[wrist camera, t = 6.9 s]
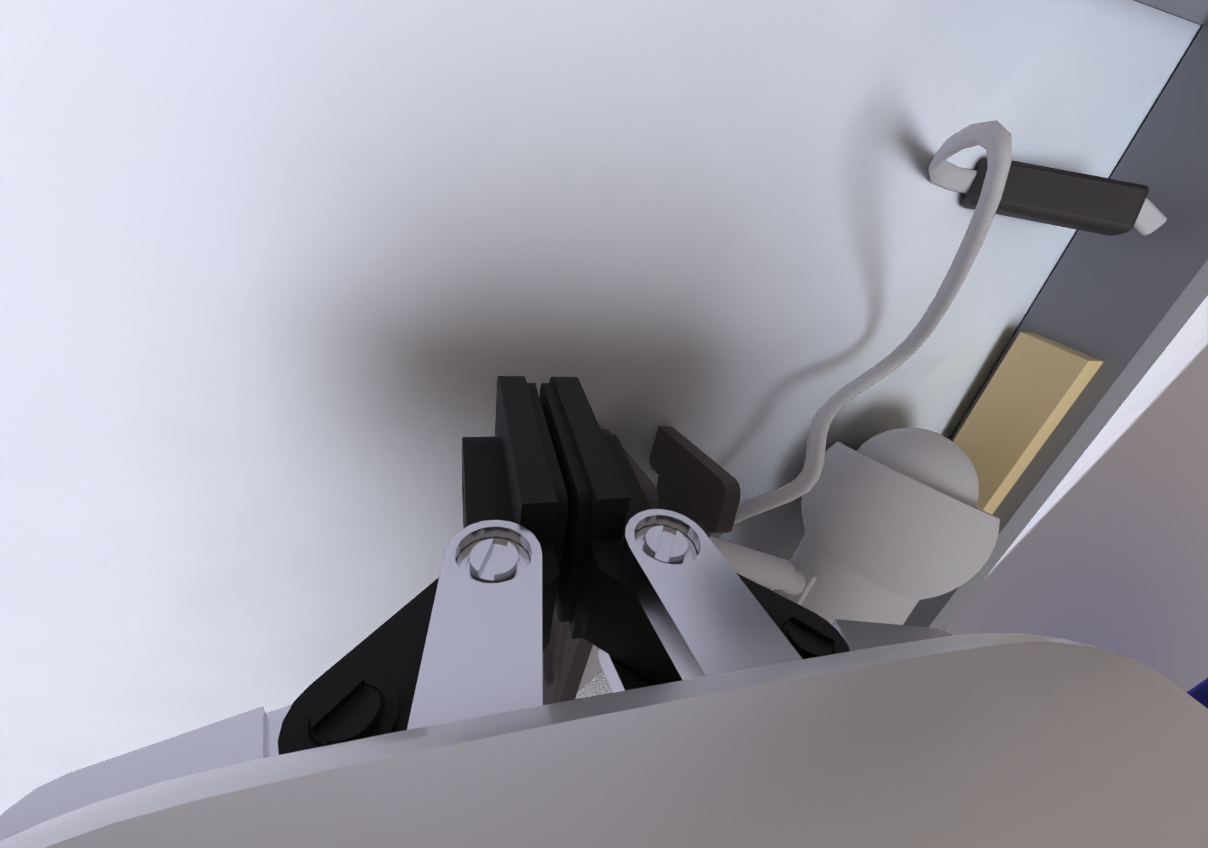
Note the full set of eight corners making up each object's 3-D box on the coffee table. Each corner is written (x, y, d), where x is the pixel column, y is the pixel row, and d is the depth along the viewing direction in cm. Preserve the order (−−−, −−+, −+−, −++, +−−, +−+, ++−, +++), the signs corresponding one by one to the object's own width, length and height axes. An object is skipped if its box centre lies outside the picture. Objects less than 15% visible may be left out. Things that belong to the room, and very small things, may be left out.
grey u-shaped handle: (851, 628, 24) (896, 689, 21) (665, 657, 21) (693, 731, 18) (1280, -48, 11) (1505, -85, 9) (967, -198, 9) (1172, -312, 6)
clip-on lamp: (767, 28, 12) (493, 624, 16) (1042, -168, 7) (515, 842, 10) (1032, 247, 17) (773, 677, 20) (1336, 245, 11) (902, 851, 14)
